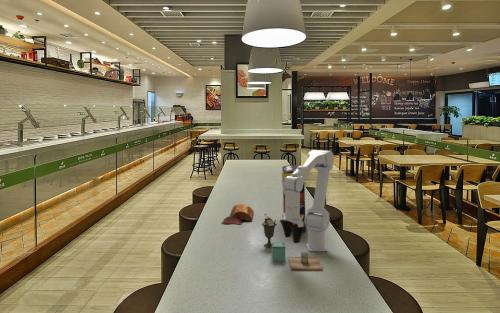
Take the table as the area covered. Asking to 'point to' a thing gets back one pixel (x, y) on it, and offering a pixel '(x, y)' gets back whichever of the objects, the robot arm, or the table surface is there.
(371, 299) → the table surface
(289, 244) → the table surface
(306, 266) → the stand
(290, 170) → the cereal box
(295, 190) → the robot arm
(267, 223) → the sundae
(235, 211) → the cured meat
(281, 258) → the teal block
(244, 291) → the table surface
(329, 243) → the table surface
